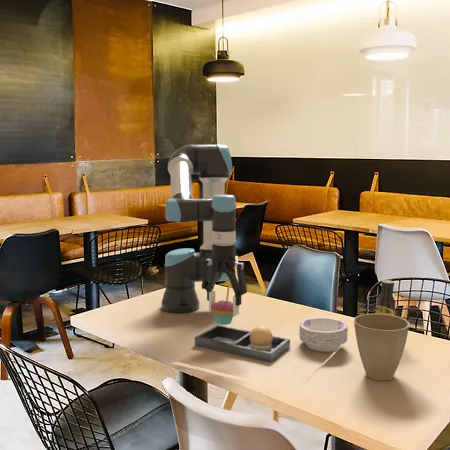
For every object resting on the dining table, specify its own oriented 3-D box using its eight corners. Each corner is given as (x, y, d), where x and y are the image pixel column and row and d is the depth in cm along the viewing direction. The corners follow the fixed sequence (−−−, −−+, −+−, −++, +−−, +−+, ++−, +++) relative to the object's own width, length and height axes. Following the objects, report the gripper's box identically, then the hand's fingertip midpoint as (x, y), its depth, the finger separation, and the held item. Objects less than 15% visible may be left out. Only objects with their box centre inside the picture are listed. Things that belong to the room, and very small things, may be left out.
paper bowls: (296, 338, 181) (297, 316, 180) (342, 339, 181) (343, 316, 180) (301, 356, 166) (302, 332, 165) (351, 357, 166) (352, 332, 165)
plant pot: (403, 367, 159) (406, 314, 156) (409, 389, 144) (412, 332, 142) (351, 362, 162) (353, 311, 159) (351, 383, 148) (354, 328, 145)
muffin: (245, 352, 168) (245, 328, 167) (256, 344, 174) (256, 321, 173) (266, 356, 164) (266, 332, 163) (276, 348, 170) (276, 325, 169)
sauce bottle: (370, 338, 182) (372, 281, 179) (379, 333, 186) (381, 277, 183) (388, 343, 177) (391, 284, 174) (397, 338, 182) (400, 281, 179)
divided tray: (194, 347, 173) (194, 337, 173) (217, 334, 185) (217, 324, 185) (271, 365, 160) (271, 353, 159) (289, 349, 172) (290, 339, 171)
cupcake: (224, 316, 181) (225, 281, 179) (242, 323, 174) (243, 287, 173) (205, 322, 175) (205, 286, 173) (223, 329, 169) (223, 291, 167)
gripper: (189, 242, 173) (190, 310, 176) (247, 248, 162) (247, 321, 166) (202, 239, 179) (202, 305, 183) (258, 244, 169) (258, 314, 172)
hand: (223, 312), depth 174 cm, fingers closed on cupcake, 8 cm apart
